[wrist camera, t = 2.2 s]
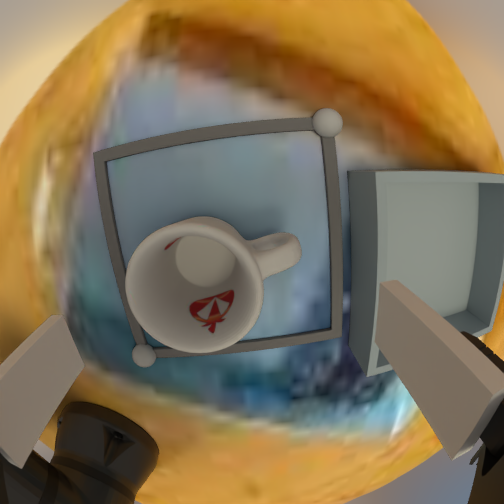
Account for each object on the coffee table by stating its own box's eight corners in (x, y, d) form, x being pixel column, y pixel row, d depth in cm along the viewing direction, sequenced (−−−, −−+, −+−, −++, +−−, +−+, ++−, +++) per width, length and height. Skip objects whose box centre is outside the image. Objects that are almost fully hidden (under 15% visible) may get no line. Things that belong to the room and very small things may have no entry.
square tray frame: (140, 357, 26) (133, 372, 24) (91, 147, 20) (77, 146, 18) (344, 336, 26) (352, 349, 24) (334, 111, 20) (344, 105, 18)
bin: (348, 345, 26) (366, 376, 21) (347, 171, 21) (375, 171, 16) (466, 311, 26) (491, 330, 21) (478, 171, 21) (511, 175, 17)
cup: (273, 181, 21) (292, 185, 14) (299, 273, 24) (326, 320, 16) (145, 224, 22) (102, 251, 14) (180, 309, 24) (159, 365, 16)
